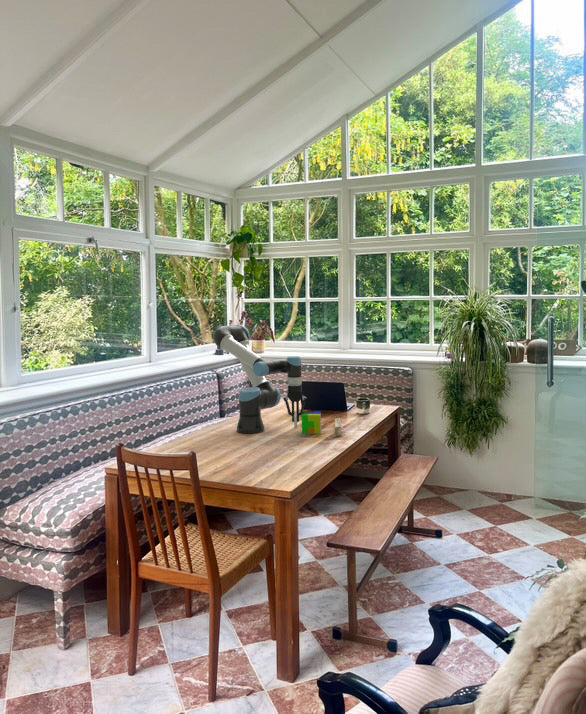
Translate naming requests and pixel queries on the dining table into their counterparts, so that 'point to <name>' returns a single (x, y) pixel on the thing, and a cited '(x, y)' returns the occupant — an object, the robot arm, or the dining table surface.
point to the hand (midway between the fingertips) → (295, 427)
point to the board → (337, 427)
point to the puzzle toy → (311, 423)
